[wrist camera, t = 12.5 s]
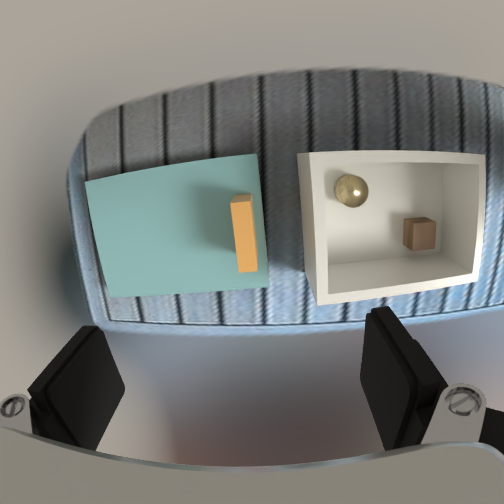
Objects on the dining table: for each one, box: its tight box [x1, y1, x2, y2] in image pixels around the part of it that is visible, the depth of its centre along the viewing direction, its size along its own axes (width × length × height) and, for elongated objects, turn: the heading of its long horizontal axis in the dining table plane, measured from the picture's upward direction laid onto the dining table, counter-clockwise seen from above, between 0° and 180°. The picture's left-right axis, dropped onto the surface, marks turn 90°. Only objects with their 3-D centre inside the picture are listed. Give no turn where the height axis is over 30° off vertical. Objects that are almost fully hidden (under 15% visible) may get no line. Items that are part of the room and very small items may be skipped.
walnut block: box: [403, 217, 436, 251], centre depth 30 cm, size 3×3×2 cm
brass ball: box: [334, 174, 369, 208], centre depth 29 cm, size 3×3×2 cm
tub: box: [297, 150, 486, 306], centre depth 28 cm, size 18×13×8 cm
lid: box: [85, 153, 270, 298], centre depth 29 cm, size 19×14×8 cm
